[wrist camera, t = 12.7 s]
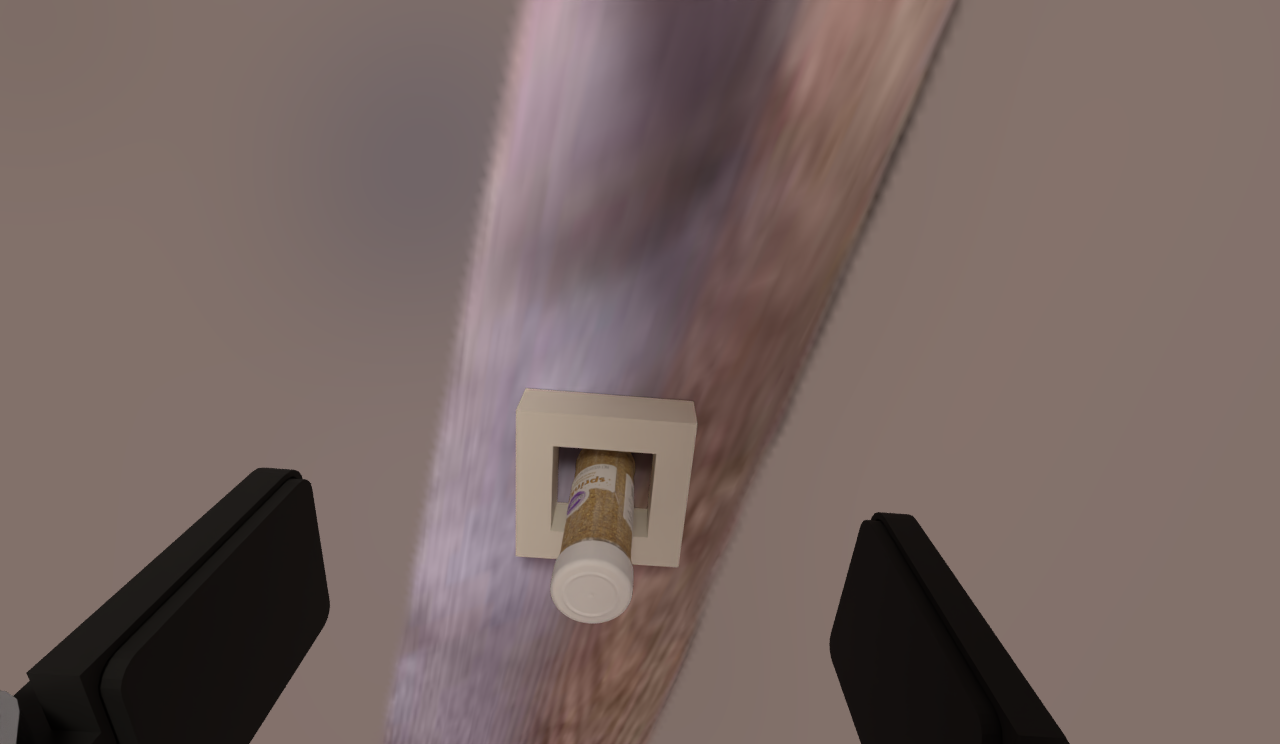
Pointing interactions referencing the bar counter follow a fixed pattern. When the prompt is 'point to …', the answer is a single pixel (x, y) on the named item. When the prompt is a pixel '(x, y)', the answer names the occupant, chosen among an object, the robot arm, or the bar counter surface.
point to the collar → (603, 427)
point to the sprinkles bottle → (597, 539)
